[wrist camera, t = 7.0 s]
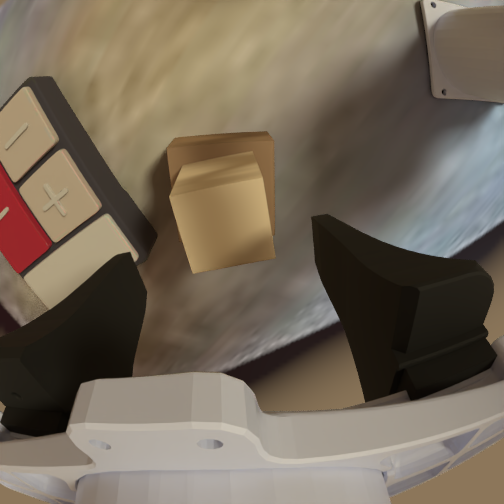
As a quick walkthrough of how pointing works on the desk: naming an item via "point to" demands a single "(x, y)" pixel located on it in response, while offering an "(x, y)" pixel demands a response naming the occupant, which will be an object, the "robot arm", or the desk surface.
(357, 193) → the desk surface
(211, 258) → the beech block
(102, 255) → the calculator
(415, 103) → the desk surface
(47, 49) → the desk surface
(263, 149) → the walnut base
